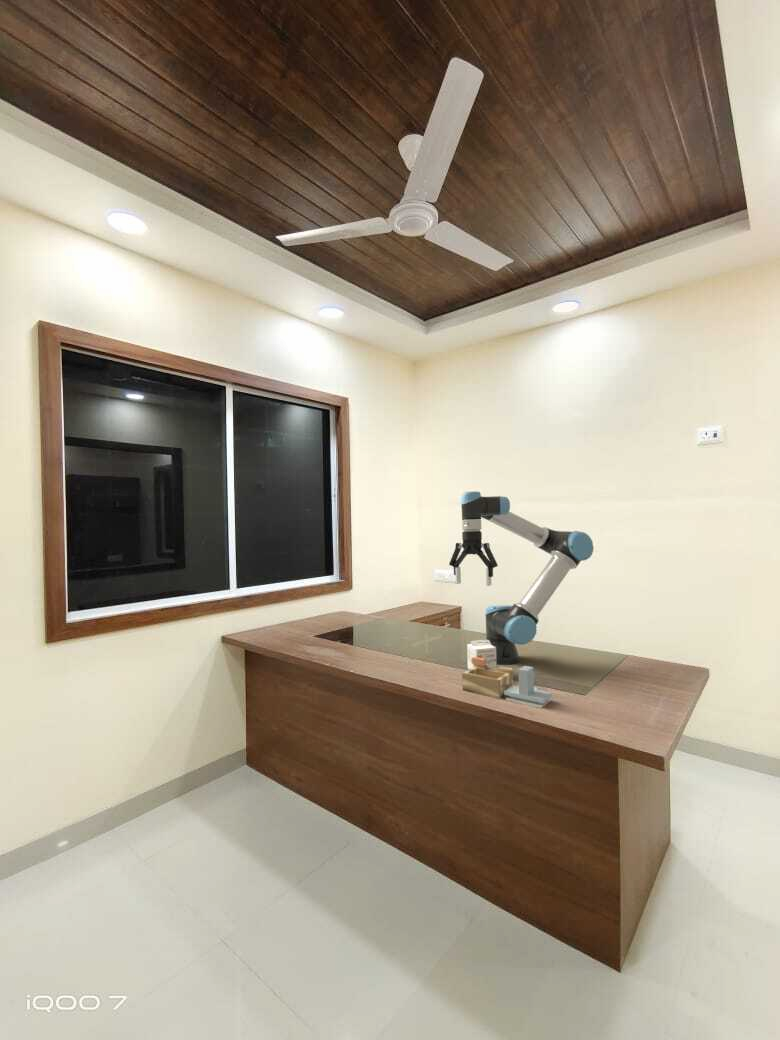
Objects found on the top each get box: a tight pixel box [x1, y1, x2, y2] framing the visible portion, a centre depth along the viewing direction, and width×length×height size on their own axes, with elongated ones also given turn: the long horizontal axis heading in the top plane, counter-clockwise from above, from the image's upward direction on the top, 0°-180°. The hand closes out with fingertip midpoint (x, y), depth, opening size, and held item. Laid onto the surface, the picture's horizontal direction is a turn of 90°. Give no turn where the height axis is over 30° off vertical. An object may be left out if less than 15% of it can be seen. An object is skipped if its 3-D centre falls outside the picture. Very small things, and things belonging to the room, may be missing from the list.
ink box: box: [466, 639, 498, 671], centre depth 184 cm, size 9×8×13 cm
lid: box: [504, 665, 553, 704], centre depth 158 cm, size 9×13×10 cm
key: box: [472, 657, 486, 666], centre depth 174 cm, size 2×5×2 cm, turn 51°
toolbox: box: [461, 664, 514, 699], centre depth 168 cm, size 11×14×7 cm
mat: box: [505, 696, 551, 709], centre depth 157 cm, size 8×12×1 cm, turn 51°
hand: (473, 584), depth 188 cm, fingers open, 13 cm apart
